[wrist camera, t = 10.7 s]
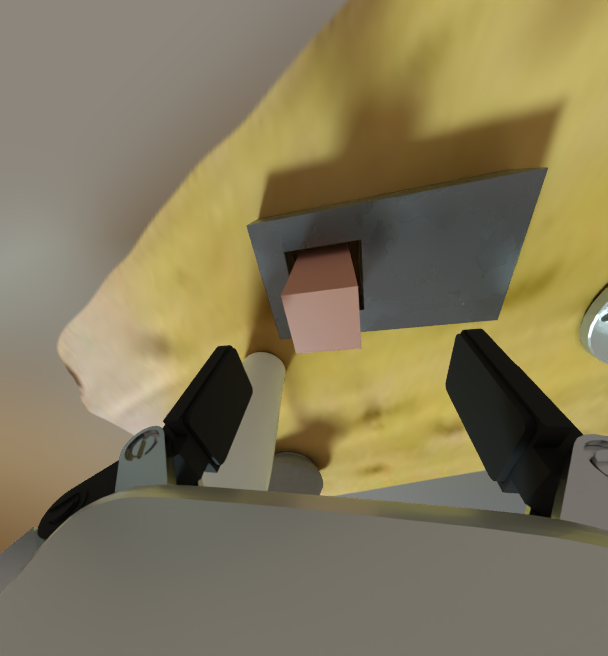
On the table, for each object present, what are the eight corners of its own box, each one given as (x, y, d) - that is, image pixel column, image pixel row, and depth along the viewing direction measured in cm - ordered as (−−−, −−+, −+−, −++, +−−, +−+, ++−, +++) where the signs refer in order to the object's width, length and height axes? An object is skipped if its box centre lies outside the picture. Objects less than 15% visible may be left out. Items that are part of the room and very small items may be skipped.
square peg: (347, 242, 19) (357, 286, 11) (350, 287, 21) (361, 348, 13) (300, 250, 19) (280, 295, 12) (308, 292, 21) (296, 353, 14)
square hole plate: (512, 169, 15) (548, 167, 12) (477, 302, 20) (497, 319, 18) (258, 219, 18) (246, 225, 16) (285, 322, 24) (280, 339, 21)
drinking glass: (253, 334, 25) (176, 489, 13) (303, 363, 27) (278, 525, 14) (229, 368, 28) (150, 516, 16) (275, 392, 30) (235, 542, 18)
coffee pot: (333, 474, 41) (333, 601, 29) (279, 480, 45) (259, 594, 33) (278, 403, 31) (243, 550, 19) (214, 418, 35) (151, 549, 23)
